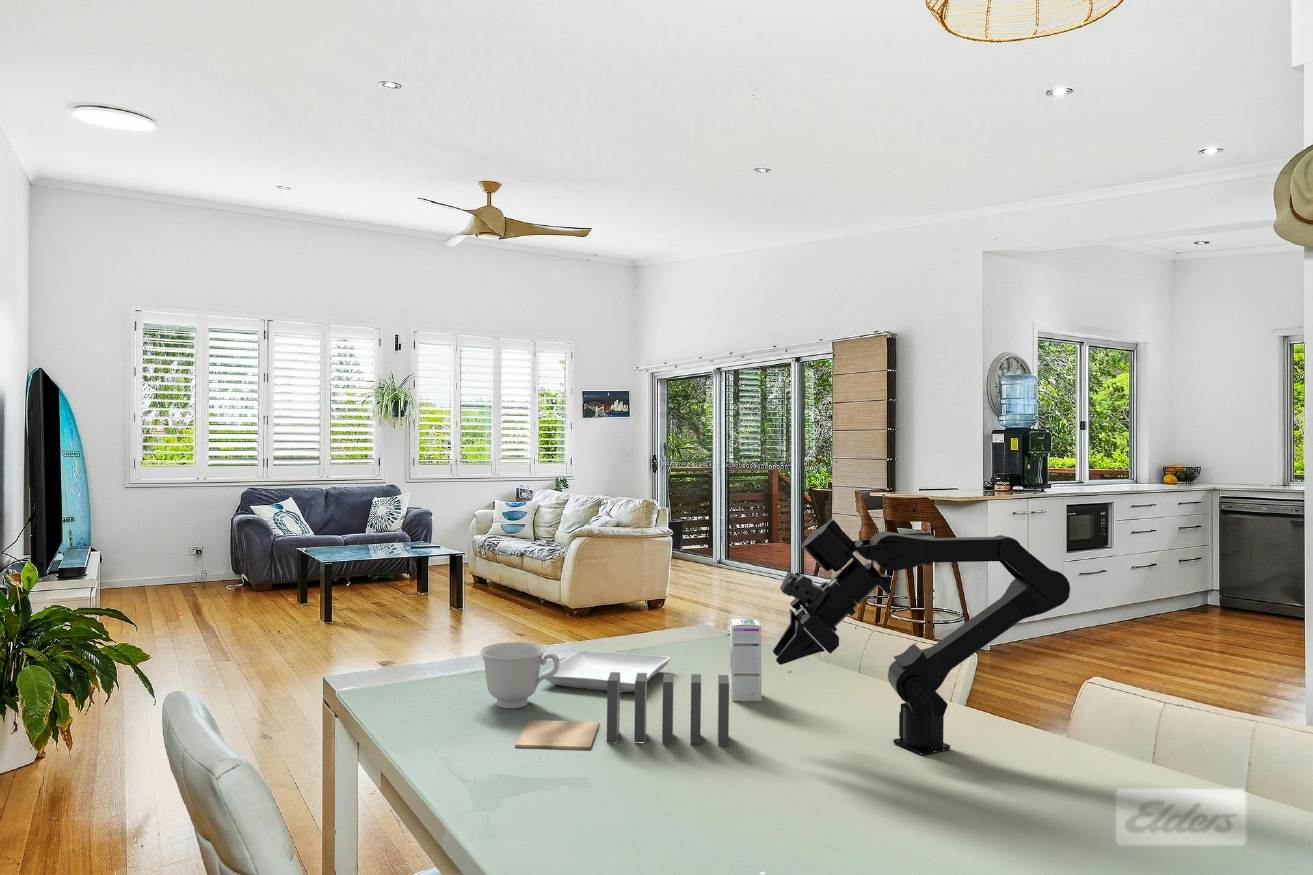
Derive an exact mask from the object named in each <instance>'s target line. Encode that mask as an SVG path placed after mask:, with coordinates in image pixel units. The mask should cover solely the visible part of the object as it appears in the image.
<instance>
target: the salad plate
mask: <svg viewBox="0 0 1313 875" xmlns="http://www.w3.org/2000/svg"><path fill="white" fill-rule="evenodd" d="M670 661H671V656H664V655H663V656H662V655H654V654H653V655H652V654H640V653H630V652H628V653H627V652H614V651H613V652H611V651H596V650H594V651H593V650H578V651H576V652H574V653H573V654H571V655H570V656H568V657H566V658H564V659H563V660H561V661H559V669H558V671H557V672H556V674H555V675H554V676H552V677H550V678H547V679H545V681H548V682H549V683H551V684H554V685H556V686H563V687H567V688H573V689H574V688H575V689H576V688H577V689H584V688H587V689H586V690H593V689H597V690H596V691H604V690H607V683H608V678H609V675H610V673H611V672H620V691H622V692H621V693H631V692H635V680H636V676H637V673H647V682H648V681H649V680H651V679H652V678H653V677H654V676H656V674H657V673H659V672H660V671H661V670H663V669H664V668H665V667H666V666H667V665H668V664H669V662H670ZM553 668H554V665H553V666H552V667H550V668H549V669H547V670H545V671H544V672H542V673H541V676H543V675H545V674H547V673H549V672H551V671H552V670H553Z"/></svg>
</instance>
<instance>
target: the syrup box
mask: <svg viewBox="0 0 1313 875" xmlns="http://www.w3.org/2000/svg"><path fill="white" fill-rule="evenodd" d="M729 625H730V633H729V638H730V639H729V644H730V645H729V649H730V654H729V655H730V656H729V657H730V660H729V661H730V662H729V664H730V665H729V666H730V669H729V673H730V674H729V676H730V677H729V678H730V679H729V694H730V697H731V700H732V701H733V702H734V701H735V702H762V678H763V677H762V675H763V674H762V671H763V670H762V626H761V623H760V620H759V619H755V618H734V619H732V618H731V619H730V623H729Z"/></svg>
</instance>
